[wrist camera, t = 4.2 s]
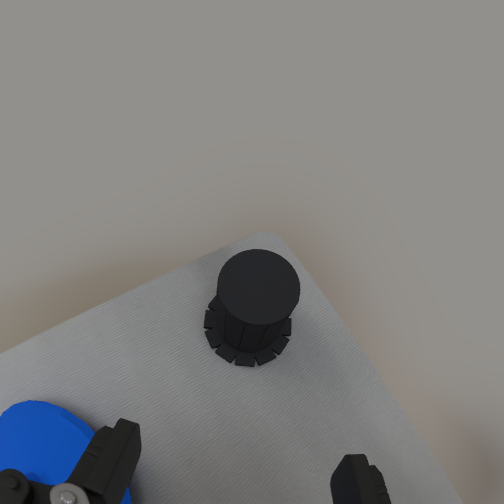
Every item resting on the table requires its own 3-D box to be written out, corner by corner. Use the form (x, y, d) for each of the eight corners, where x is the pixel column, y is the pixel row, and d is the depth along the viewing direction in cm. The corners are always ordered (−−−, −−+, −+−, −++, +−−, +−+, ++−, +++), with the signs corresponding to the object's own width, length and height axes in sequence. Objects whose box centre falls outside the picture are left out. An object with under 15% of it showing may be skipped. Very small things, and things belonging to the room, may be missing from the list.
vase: (87, 380, 23) (50, 366, 17) (175, 522, 17) (162, 552, 11) (-12, 426, 17) (-54, 419, 11) (57, 552, 11) (25, 571, 5)
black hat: (290, 289, 30) (315, 241, 22) (288, 369, 26) (318, 347, 18) (210, 281, 30) (208, 228, 22) (199, 361, 25) (190, 336, 18)
